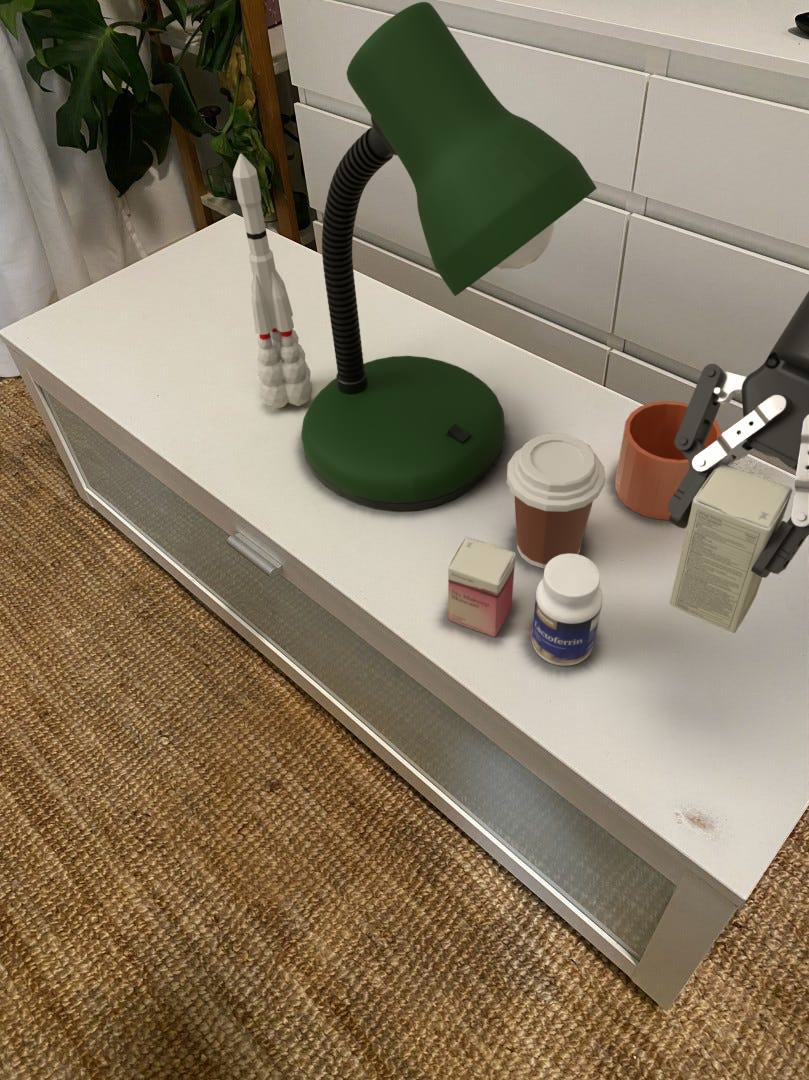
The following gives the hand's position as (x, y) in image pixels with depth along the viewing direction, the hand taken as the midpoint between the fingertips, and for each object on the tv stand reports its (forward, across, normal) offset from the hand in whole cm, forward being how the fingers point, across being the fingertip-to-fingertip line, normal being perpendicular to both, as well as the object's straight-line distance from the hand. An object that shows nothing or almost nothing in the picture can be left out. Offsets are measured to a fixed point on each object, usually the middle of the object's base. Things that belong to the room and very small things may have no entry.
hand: (717, 548), depth 56 cm
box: (+4, 0, +6) cm, 8 cm away
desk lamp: (+9, -38, +23) cm, 46 cm away
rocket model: (+13, -58, +20) cm, 63 cm away
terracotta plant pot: (0, -17, +32) cm, 36 cm away
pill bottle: (+16, -11, +16) cm, 25 cm away
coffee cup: (+10, -20, +22) cm, 32 cm away
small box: (+18, -19, +14) cm, 30 cm away
